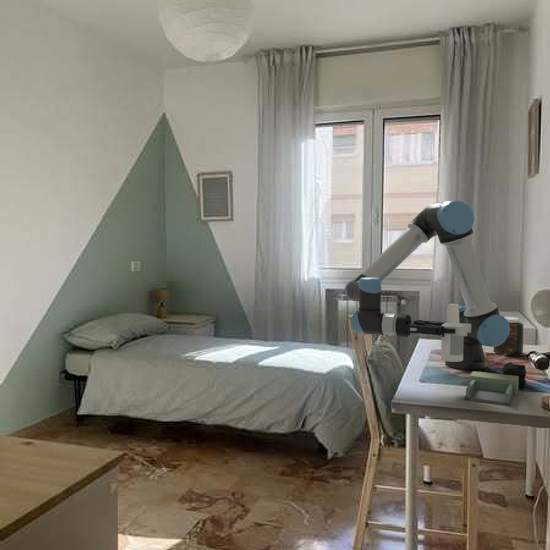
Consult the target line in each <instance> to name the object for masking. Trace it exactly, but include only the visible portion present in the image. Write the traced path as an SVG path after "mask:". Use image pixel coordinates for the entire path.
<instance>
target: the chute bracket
mask: <svg viewBox="0 0 550 550" xmlns="http://www.w3.org/2000/svg"><path fill="white" fill-rule="evenodd" d="M468 381H469V382H468V383H469V384H468V385H467V387H466V388H465V395H464V397H463V400H464V399H466V400H465V401H471V400H472V401H473V402H480V403H487V404H495V405H502V406H512V403H513V400H514V398H515V396H517V394H518V392H519V389H518V383H519V376H513V375H504V374H502V373H493V372H485V371H476V370H475V371H472V372H471V373H470V375H469V380H468ZM472 401H471V402H472Z"/></svg>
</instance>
